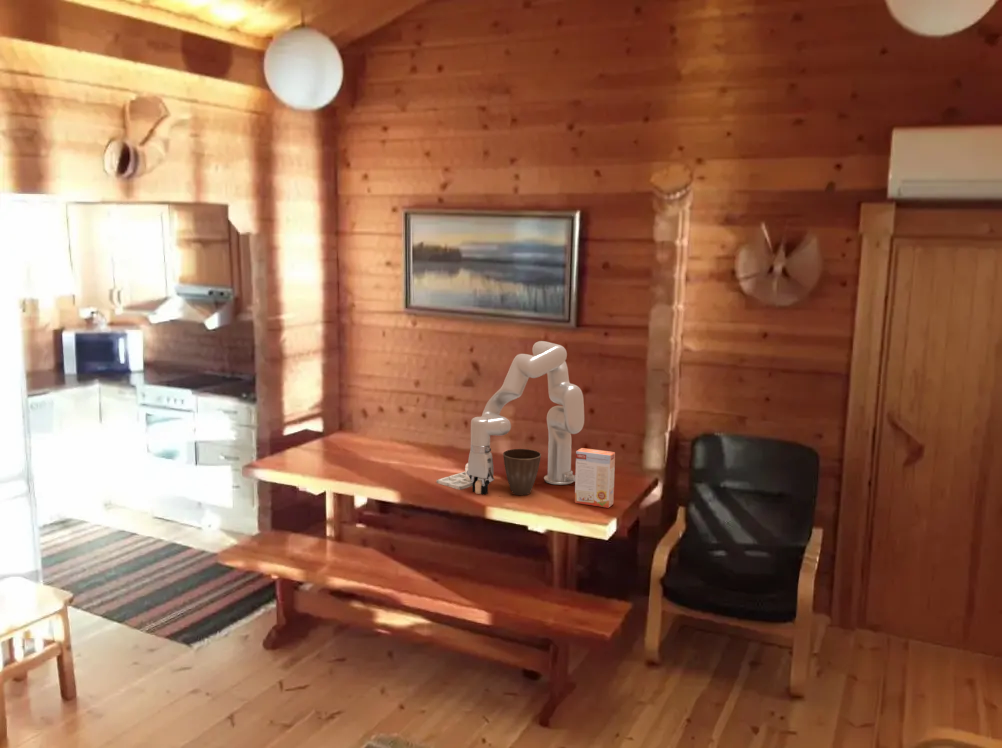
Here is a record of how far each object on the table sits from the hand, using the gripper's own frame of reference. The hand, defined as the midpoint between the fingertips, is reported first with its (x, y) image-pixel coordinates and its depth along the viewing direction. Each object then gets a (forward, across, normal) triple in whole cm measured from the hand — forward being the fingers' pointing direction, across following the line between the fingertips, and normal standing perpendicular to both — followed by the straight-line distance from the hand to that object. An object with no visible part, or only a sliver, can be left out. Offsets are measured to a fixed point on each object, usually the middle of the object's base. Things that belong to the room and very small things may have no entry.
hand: (480, 493), depth 344 cm
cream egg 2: (0, +12, -6) cm, 13 cm away
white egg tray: (+1, +14, -6) cm, 16 cm away
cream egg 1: (0, +18, -12) cm, 22 cm away
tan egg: (+1, 0, 0) cm, 1 cm away
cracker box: (+1, -39, -22) cm, 45 cm away
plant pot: (+1, -10, -13) cm, 17 cm away
